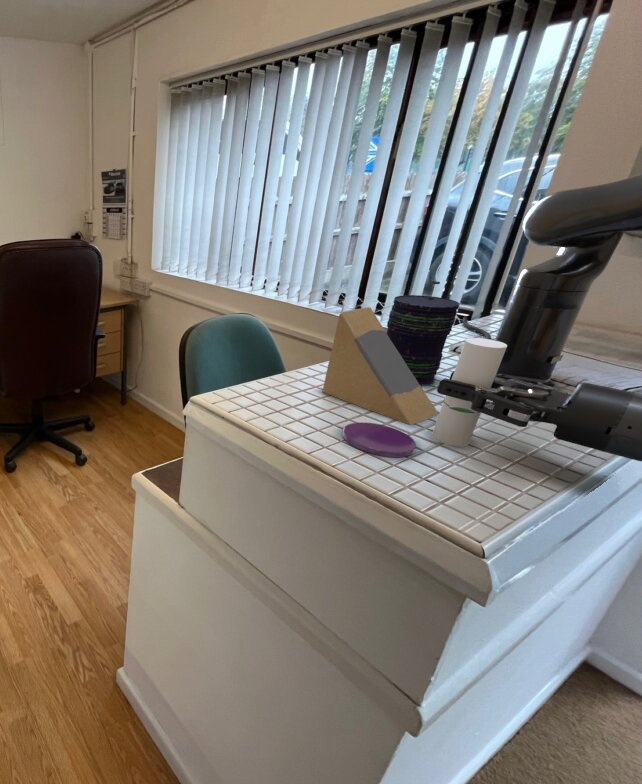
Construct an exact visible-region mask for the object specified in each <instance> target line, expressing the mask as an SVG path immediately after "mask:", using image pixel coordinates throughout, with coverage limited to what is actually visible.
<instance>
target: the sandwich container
mask: <svg viewBox="0 0 642 784" xmlns="http://www.w3.org/2000/svg"><path fill="white" fill-rule="evenodd" d="M386 332H387V331H386V330H385V328H384V327H383V325H382V324H381V321H380V320H379V318H378V317H377V316H376V314H375V312H374V310H373V309H372V308H371V306H367V307H362V308H356V309H350V310H346V311H342V312H340V314H339V315H338V319H337V324H336V328H335V333H334V337H333V342H332V346H331V351H330V355H329V360H328V364H327V368H326V374H325V378H324V382H323V387H322V392H323V393H324V394H326V395H328V396H332V397H335V398H337V399H339V400H342V401H345V402H347V403H349V404H352V405H355V406H358V407H360V408H362V409H365V410H368V411H371V412H374V413H377V414H379V415H382V416H385V417H388V418H390V419H393V420H395V421H398V422H401V423H404V424H407V425H408V426H412V425H415V424H417V423H421V422H423V421H427V420H429V419H431V418H433V417H435V416H436V415H437V416H438V415H439V413H440V412H439V411H438V409H437V408H436V407H435V405H434V404H433V402H432V401H431V399H430V398H429V397H428V395H427V394H426V392H425V390H424V388H422V385H420V384H419V383H418V381H417V380H416V378H415V377H414V375H413V374H412V372H411V371H410V369H409V368H408V366H407V365H406V363H405V361H404V360H403V358H402V357H401V355H400V354H399V352H398V351H397V349H396V347H395V346H394V344H393V343H392V341H391V340H390V338H389V337H388V335H387V333H386Z"/></svg>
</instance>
